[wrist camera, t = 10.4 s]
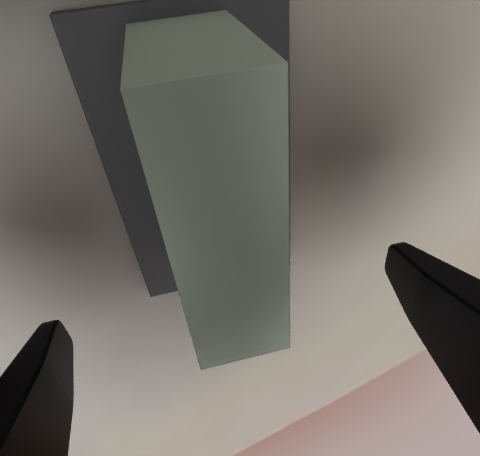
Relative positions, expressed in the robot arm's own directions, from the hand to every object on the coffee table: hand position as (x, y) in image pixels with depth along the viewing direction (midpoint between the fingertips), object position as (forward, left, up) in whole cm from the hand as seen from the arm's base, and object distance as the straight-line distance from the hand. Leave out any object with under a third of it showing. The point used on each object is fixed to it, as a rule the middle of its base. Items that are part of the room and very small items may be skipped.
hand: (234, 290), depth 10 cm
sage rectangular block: (0, -1, -6) cm, 6 cm away
